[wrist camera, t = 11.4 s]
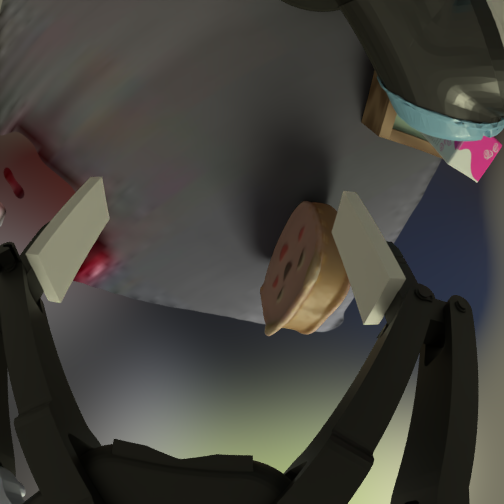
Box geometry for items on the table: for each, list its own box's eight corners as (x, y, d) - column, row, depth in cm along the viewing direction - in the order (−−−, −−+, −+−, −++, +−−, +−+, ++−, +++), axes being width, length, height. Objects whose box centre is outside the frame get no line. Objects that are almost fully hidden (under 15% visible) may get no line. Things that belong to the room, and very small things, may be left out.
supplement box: (435, 134, 30) (477, 185, 23) (403, 116, 29) (444, 163, 22) (454, 102, 26) (504, 146, 18) (422, 80, 25) (474, 118, 17)
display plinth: (379, 48, 28) (401, 49, 23) (444, 77, 29) (471, 86, 24) (361, 122, 36) (378, 136, 31) (425, 143, 37) (447, 160, 32)
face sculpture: (302, 182, 43) (322, 253, 30) (340, 196, 44) (372, 268, 31) (258, 272, 55) (258, 347, 42) (291, 280, 56) (299, 354, 44)
